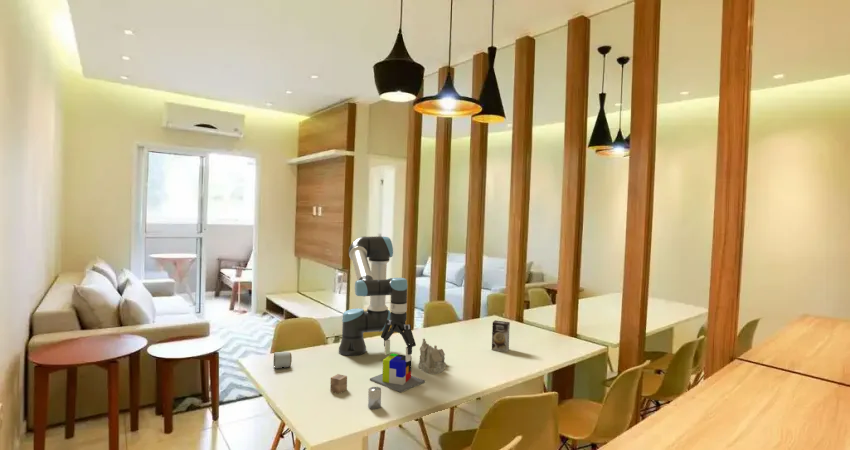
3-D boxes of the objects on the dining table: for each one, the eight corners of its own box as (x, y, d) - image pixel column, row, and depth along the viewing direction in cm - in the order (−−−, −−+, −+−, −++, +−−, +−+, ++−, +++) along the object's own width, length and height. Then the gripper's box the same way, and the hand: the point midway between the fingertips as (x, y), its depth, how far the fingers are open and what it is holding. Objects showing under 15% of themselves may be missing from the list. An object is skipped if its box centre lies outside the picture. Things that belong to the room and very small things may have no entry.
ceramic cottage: (427, 375, 204) (429, 343, 204) (413, 365, 218) (415, 336, 219) (455, 372, 210) (457, 341, 211) (439, 363, 225) (441, 334, 226)
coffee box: (491, 350, 244) (491, 322, 244) (493, 347, 250) (494, 319, 250) (507, 352, 241) (507, 324, 241) (509, 349, 247) (509, 321, 247)
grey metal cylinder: (365, 406, 168) (365, 389, 168) (374, 402, 172) (375, 385, 172) (374, 410, 165) (374, 393, 165) (383, 406, 169) (383, 389, 169)
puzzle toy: (402, 385, 189) (403, 362, 189) (382, 381, 192) (382, 359, 192) (411, 377, 198) (411, 356, 198) (391, 374, 202) (392, 353, 202)
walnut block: (330, 391, 183) (330, 377, 183) (337, 387, 187) (337, 373, 187) (339, 393, 180) (339, 379, 180) (346, 389, 185) (347, 376, 185)
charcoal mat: (369, 380, 196) (369, 378, 196) (394, 371, 208) (394, 369, 208) (400, 392, 183) (400, 390, 183) (424, 382, 195) (424, 380, 195)
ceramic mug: (292, 368, 209) (292, 353, 209) (274, 370, 205) (274, 355, 205) (289, 362, 218) (289, 347, 218) (272, 364, 215) (272, 349, 215)
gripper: (374, 308, 200) (373, 352, 201) (412, 318, 184) (411, 366, 185) (385, 306, 206) (384, 349, 207) (424, 315, 190) (423, 362, 190)
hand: (397, 357), depth 196 cm, fingers open, 13 cm apart
